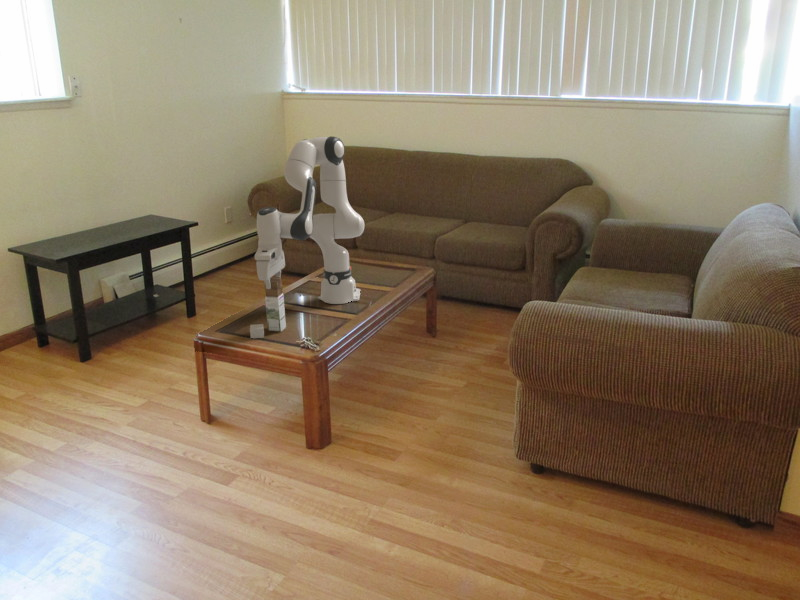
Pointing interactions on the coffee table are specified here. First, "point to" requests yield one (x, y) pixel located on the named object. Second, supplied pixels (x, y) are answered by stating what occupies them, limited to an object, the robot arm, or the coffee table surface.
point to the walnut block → (274, 287)
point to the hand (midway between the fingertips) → (273, 284)
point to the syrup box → (275, 313)
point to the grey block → (257, 331)
